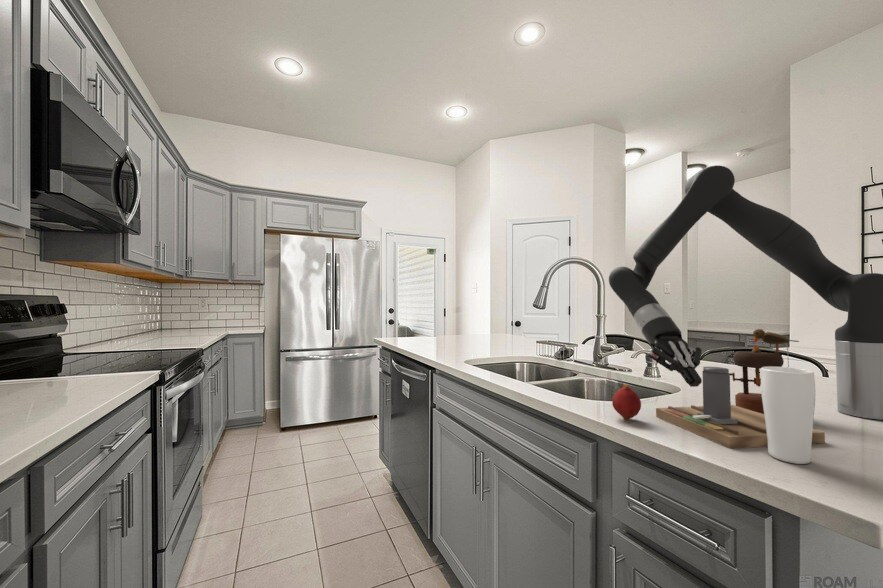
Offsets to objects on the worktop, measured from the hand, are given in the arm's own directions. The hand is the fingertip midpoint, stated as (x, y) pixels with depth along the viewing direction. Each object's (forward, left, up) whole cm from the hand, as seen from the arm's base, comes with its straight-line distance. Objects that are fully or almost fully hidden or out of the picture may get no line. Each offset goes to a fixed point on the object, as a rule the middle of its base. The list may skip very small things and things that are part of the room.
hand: (696, 384), depth 81 cm
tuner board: (-5, +4, -8) cm, 10 cm away
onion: (+13, -5, -9) cm, 17 cm away
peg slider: (+1, +5, -6) cm, 8 cm away
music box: (-22, -6, -9) cm, 24 cm away
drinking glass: (0, +18, -9) cm, 20 cm away
